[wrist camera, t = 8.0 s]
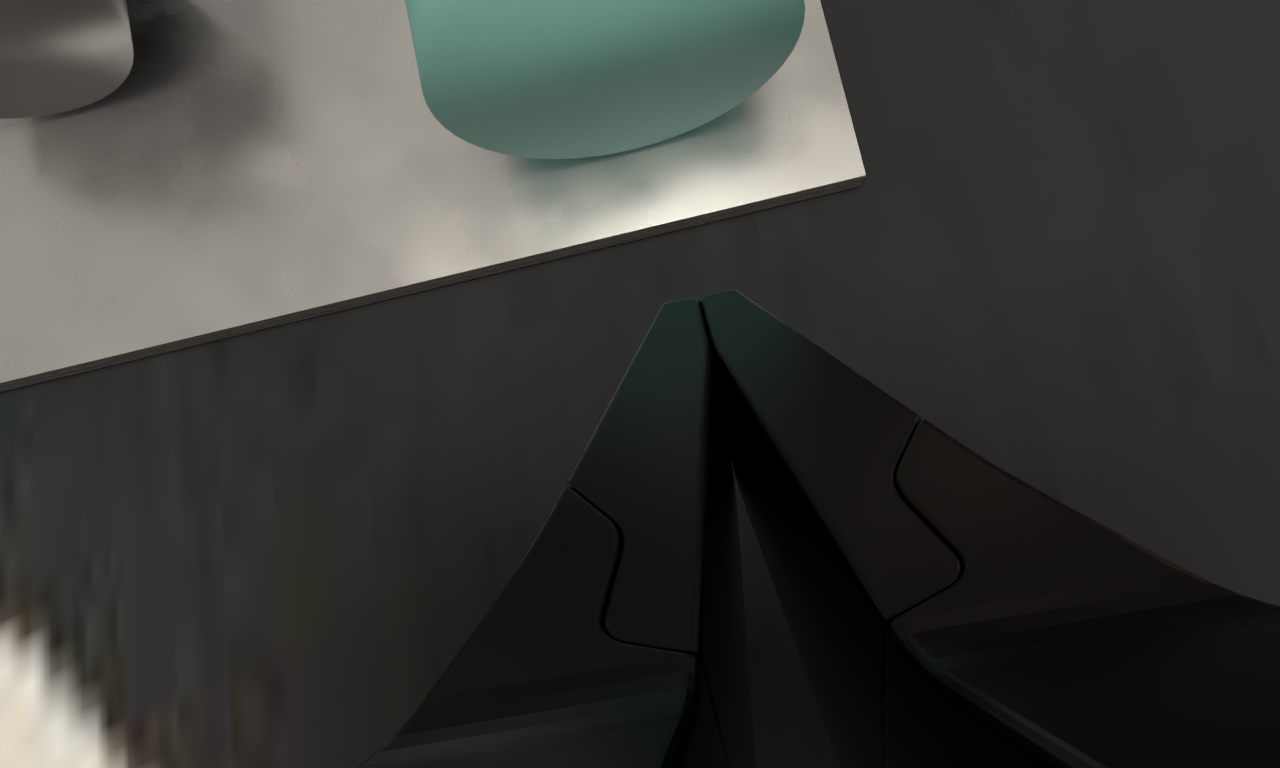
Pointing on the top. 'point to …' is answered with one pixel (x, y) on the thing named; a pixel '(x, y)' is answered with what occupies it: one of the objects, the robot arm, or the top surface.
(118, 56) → the dark grey rounded piece
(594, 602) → the robot arm
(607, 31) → the teal knob
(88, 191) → the mount
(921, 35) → the top surface
